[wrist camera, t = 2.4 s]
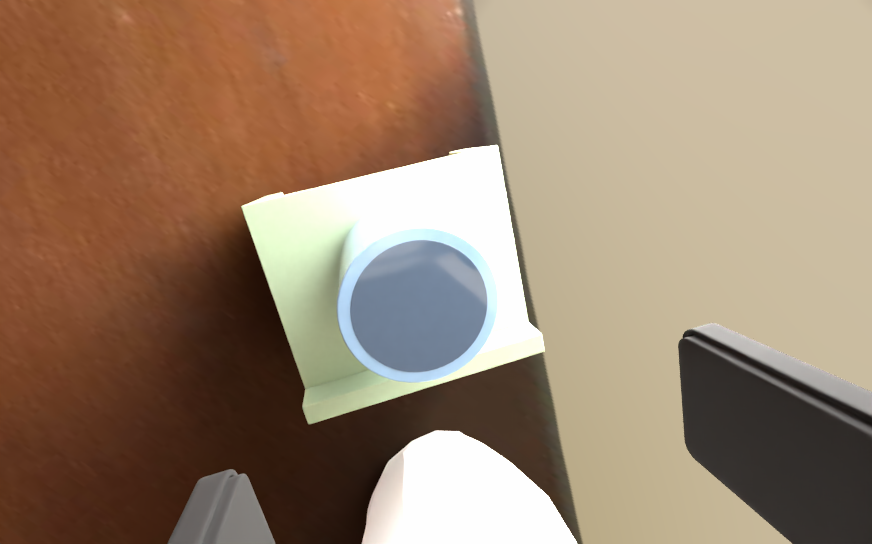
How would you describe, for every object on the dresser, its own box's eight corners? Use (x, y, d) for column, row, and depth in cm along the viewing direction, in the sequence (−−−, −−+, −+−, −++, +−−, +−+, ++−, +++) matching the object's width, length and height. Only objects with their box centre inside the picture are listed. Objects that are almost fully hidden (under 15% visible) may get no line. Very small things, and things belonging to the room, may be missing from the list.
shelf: (264, 196, 29) (231, 210, 20) (464, 148, 31) (511, 143, 22) (317, 355, 32) (308, 425, 24) (495, 304, 34) (545, 351, 26)
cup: (324, 222, 23) (315, 251, 16) (439, 193, 24) (483, 208, 16) (356, 329, 25) (362, 403, 17) (462, 299, 26) (511, 357, 18)
